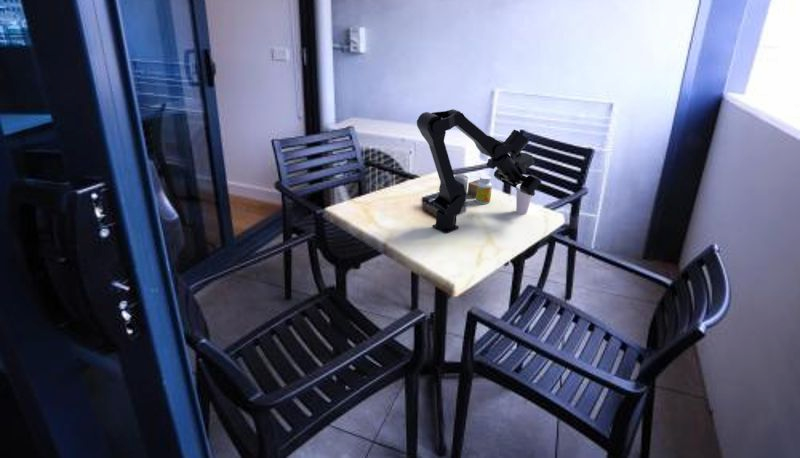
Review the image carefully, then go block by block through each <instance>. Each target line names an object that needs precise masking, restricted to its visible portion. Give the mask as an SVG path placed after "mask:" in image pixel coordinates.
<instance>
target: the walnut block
mask: <svg viewBox="0 0 800 458" xmlns="http://www.w3.org/2000/svg"><path fill="white" fill-rule="evenodd" d="M478 182H480V179H477V180H473V181H469V182H467V196H470V197H473V198H475V199H476V193H477V184H478Z"/></svg>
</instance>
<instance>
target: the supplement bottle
mask: <svg viewBox="0 0 800 458" xmlns="http://www.w3.org/2000/svg"><path fill="white" fill-rule="evenodd" d="M479 180H480V182H478V184H477V193H476V198H475V202H476V203H477V204H481V205H487V204H488V205H489V204H490V202H491V198H492V189H493V184H492V183H491V181H492V177H491V176H490V175H480V176H479Z"/></svg>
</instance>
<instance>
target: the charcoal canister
mask: <svg viewBox="0 0 800 458" xmlns="http://www.w3.org/2000/svg"><path fill="white" fill-rule="evenodd" d="M454 177H455V180H457V181H459V182H461V183H462V184H463V185H464V189H465V193H466V194H467V195H468V183H469V177H468V176H467V175H464V174H456V175H454ZM467 195H465V196H466V197H467Z"/></svg>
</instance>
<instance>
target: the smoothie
mask: <svg viewBox="0 0 800 458" xmlns="http://www.w3.org/2000/svg"><path fill="white" fill-rule="evenodd" d="M529 175H530V174H527V177H528V176H529ZM521 184H522V183H520V184H518V185H516V188H515V190H516V196H515V197H516V198H515V199H516V201H515V202H516V203H515V204H516V206H515V207H516V208H515V209H516V210H515V211H516V213H517V214H519V215H526V214H527V213H528V211H529V207H530V203H531V201H532V197H533V196H531V195H528V194H525V193H523V192H521V191H520V190H521V189H520V185H521Z"/></svg>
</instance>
